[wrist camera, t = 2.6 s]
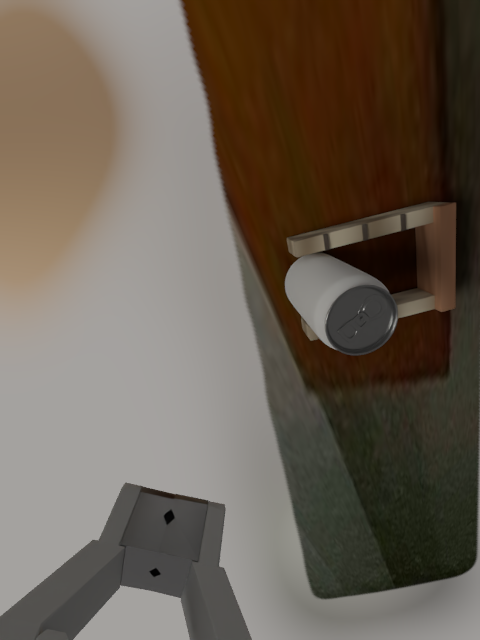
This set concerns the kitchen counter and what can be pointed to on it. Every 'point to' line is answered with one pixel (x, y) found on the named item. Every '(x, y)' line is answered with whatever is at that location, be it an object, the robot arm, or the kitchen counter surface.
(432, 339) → the kitchen counter surface
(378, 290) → the can
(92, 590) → the robot arm
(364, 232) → the wooden rack
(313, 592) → the kitchen counter surface
